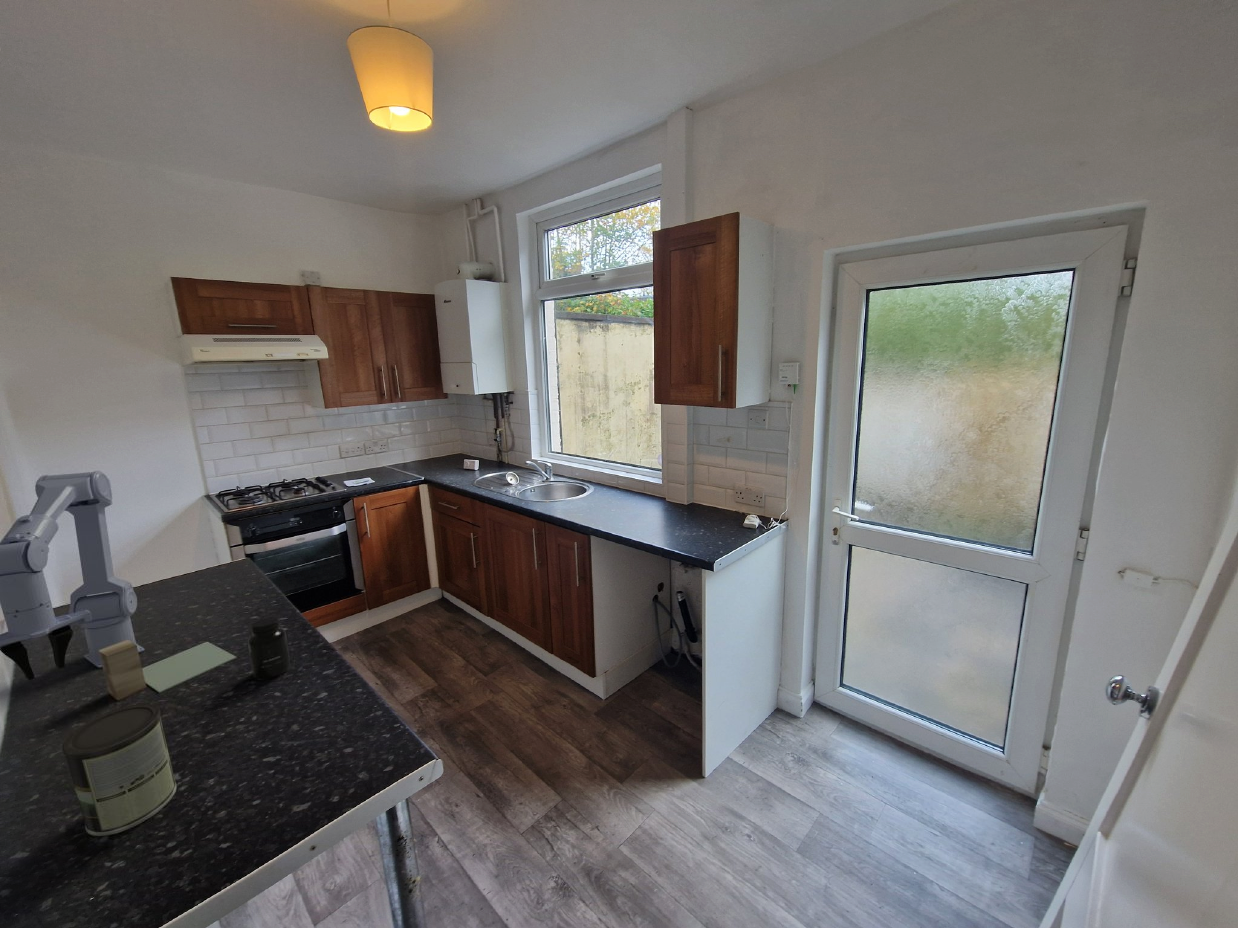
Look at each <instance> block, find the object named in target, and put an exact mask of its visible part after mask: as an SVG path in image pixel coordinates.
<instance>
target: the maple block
mask: <svg viewBox="0 0 1238 928" xmlns="http://www.w3.org/2000/svg"><path fill="white" fill-rule="evenodd" d="M136 644H137V643H136ZM136 644H134V643H132V642H131V641H129V640H125V641H123V642H120V643H117V644H115V645H112V646H109V647H106V648H104V649H101V650H99V654H100V658H101V662H102V666H103V667H102V670H103V674H104V678H105V681H106V682H105V683H106V685H107V690H108V693H109V695H110V696H111V697H113V698H114V699H115V700H116V701H120V700H122V699H125V698H127V697H130V696H132V695H133V694H136V693H138V692H141V691H143V690H145V689H147V684H146V683H145V679H144V675H143V670H142V668H143V667H142V663H141V659H140V653H138V649H137V645H136Z"/></svg>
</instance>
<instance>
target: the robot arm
mask: <svg viewBox="0 0 1238 928" xmlns="http://www.w3.org/2000/svg"><path fill="white" fill-rule="evenodd" d="M111 486H112V485H111V480H110V479H109V478H108V476H107V475H106V474H105V472H103V471H100V470H95V471H90V472H89V471H88V472H77V473H64V474H52V475H49V474H45V475H44V474H43V475H41V476H39V478H38V479H37V480H36V482H35V485H34V487H35V488H34V489H35V494H36V497H37V500H36V502H35V503H34V506H33V508H32V509H31V511H30V513H29V514H26V515H22V516H20V517H19V518H17V519H16V520H15V522H14V523H13V524H12V525H11V527H10V528H9V530H8V531H7V532H6V534H5V535H4V536H3V538H2V539H1V540H0V607H1V610H2V613H3V618H4V621H5V625H6V628H7V631H6V632H4V633H0V652H1V653H2V654H3V655H4V656H6V657H8V658H9V659H10V660H12V661H13V662H14V663H15V664H16V665H17V666H18V667H19V669H20V670H21V671H22V673H23V675H24V677H25V679H27V680H28V681H32V680H33V679H35V674H34V671H33V669H32V667H31V663H30V659H29V654H28V649H27V648H26V647H25V645H24V642H27V641H30V640H32V639H36V638H37V639H38V638H40V637H44V636H45V635H47V637H48V640H49V643H50V646H51V649H52V654H53V660H54V664H55V667H57V668H58V669H60V670H61V669H64V668H65V667H66V664H65V663H66V662H65V661H66V656H67V654H66V653H67V650H68V646H69V645H70V641H71V640H72V638H73V635H74V631H73V629H72V628H71V627H73V626H80V628H81V629H84V635H85V639H86V643H87V648H88V651H89V653H87V654H84V655H83V656H84V659H86V660H87V661H89V662H90V663H91V664H93V665H94V666H95V667H97V668H100V669H101V668H103V666H102V662H101V658H100V654H99V650H101V649H104V648H106V647H109V646H112V645H115V644H117V643H120V642H123V641H125V640H129V641H131V642H132V643H134V644H136V645H137V649H138V653H139V654H140V653H142V652H144V651H145V648H144V647H143V646H141V645H139V644H138V643H137V641H136V638H135V634H134V628H133V626H132V621H131V616H133V614H134V613H135V612H136V610H137V607H138V598H137V594H136V593H135V590H134V587H133V584H132V582H130V581H128V580H125V579H122V578H119V577H116V576H115V573H114V567H113V559H112V553H111V552H112V551H111V546H110V545H111V544H110V538H109V531H108V525H107V519H106V518H107V516H106V508H108V507H109V506H111V505H113V493H112V487H111ZM64 512H67V513H69V514H70V515H72V516H73V518H74V519H73V520H74V527H75V533H76V541H77V546H78V547H77V549H78V553H79V559H80V560H79V561H80V569H81V575H82V581H83V584H82V585H80V586H79V587H77V588H76V589H75V590H74V591H73V592H72V593H71V594H70V596H69V597H70V600H69V601H70V605H69V609H68V614H64V615H60V616H59V615H58V616H55V615H56V614H55V611H54V608H53V604H52V600H51V597H50V593H49V589H48V586H47V581H46V578H45V573H44V569H45V568H46V566H47V564H48V558H49V552H50V547H49V545H50V543H51V542H52V540H53V538H54V537H55V535H56V534H57V532H58V531H59V523H58V522H57V520H58V519H59V517H60V516H61V515H62V514H63V513H64Z"/></svg>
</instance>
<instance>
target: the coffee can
mask: <svg viewBox="0 0 1238 928" xmlns="http://www.w3.org/2000/svg"><path fill="white" fill-rule="evenodd" d="M61 749H62V752H63V754H64V756H65V758H66V763H67V765H68V768H69V772H70V776H71V780H72V783H73V786H74V789H75V790H74V791H75V793H76V797H77V800H78V804H79V807H80V811H81V814H82V818H83V821H84V825H85V826H84V829H85V832H86V833H88V834H89V835H91V836H95V837H105V836H106V837H107V836H110V835H115V834H119V833H122V832H124V831H127V830H129V829H132V828H134V827H136V826H138V825H140V824H142V823H143V822H145V821H146V820H148V819H150V818H152V817H153V816H154V815H156V814H157V813H158V812H160V811H161V810H162V809H163V808H164V807H165V806H166V805H167V804H168V803H169V802H170V801H171V800H172V798H173V797H174V795H175V793H176V791H177V787H178V785H177V782H176V780H175V776H174V771H173V767H172V762H171V758H170V754H169V749H168V745H167V741H166V737H165V732H164V728H163V723H162V720H161V710H160V708H159V707H158V706H157V705H155V704H152V703H139V704H132V705H128V706H124V707H121V708H117V709H114V710H112V711H111V710H110V711H109V712H106V713H104V714H102V715H99V716H97V717H95V718H93V719H91V720H89V721H87V722H86V723H84V724H82V725H81V726H79V727H78V728H76V729H75V730H74V731H72V732H71V733H70V734H69V735H68V736H67V737H66V739H65V740H63V743H62V745H61Z"/></svg>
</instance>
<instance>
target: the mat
mask: <svg viewBox="0 0 1238 928" xmlns="http://www.w3.org/2000/svg"><path fill="white" fill-rule="evenodd" d="M236 659H237V656H236V655H234V654H232V653H230V652H228V651H226V650H224V649H223V648H221V647H218V646H217V645H214V644H213V643H211V642H209V641H206V642H202V643H201V644H198V645H196V646H193V647H191V648H188V649H186V650H183V651H181V652H179V653H178V652H177V653H175V654H174V655H171V656H169V657H167V658H164V659H162V660H159V661H157V662H154V663H152V664H150V665H149V664H148V665H147V666H145V667H142V670H143V675H144V679H145V683H146V686H147V685H148V686H149V687H150V688H152V689H154V690H155V691H156V692H157V693H159V694H162V693H163V692H166V691H167V690H169V689H171V688H174V687H176V686H178V685H180V684H184V683H185V682H187V681H189V680H191V679H193V678H196V677H198V676H200V675H202V674H205V673H207V672H209V671H211V670H213V669H215V668H218V667H220V666H223V665H225V664H226V663H228V662H229V663H230V662H231V661H234V660H236Z"/></svg>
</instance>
